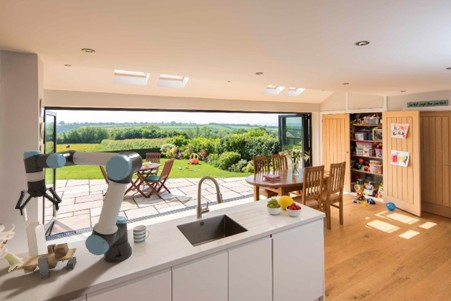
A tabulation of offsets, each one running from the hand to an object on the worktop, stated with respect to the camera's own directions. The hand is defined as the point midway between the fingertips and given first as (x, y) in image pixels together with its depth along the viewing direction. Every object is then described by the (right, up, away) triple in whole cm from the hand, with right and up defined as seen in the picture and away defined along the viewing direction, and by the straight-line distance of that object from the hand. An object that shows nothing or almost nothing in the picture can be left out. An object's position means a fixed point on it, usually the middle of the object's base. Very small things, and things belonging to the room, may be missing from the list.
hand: (41, 218), depth 133 cm
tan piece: (+5, -26, 0) cm, 26 cm away
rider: (+10, -20, +1) cm, 22 cm away
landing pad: (+15, -27, +3) cm, 31 cm away
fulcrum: (+5, -28, 0) cm, 28 cm away
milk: (-12, -27, +13) cm, 32 cm away
